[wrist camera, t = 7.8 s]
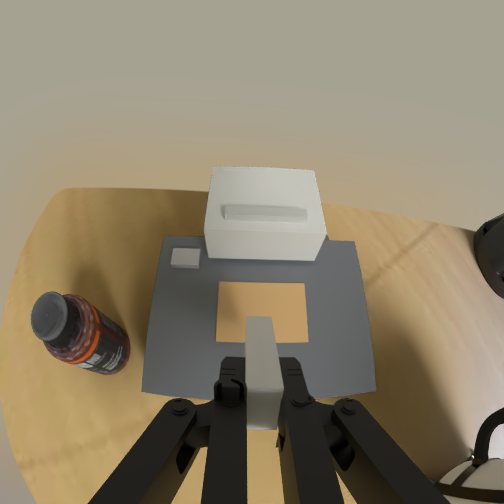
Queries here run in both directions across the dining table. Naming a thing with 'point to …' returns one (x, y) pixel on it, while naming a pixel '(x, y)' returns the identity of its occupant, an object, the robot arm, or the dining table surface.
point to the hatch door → (263, 214)
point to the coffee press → (477, 472)
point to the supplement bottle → (79, 333)
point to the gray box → (257, 304)
